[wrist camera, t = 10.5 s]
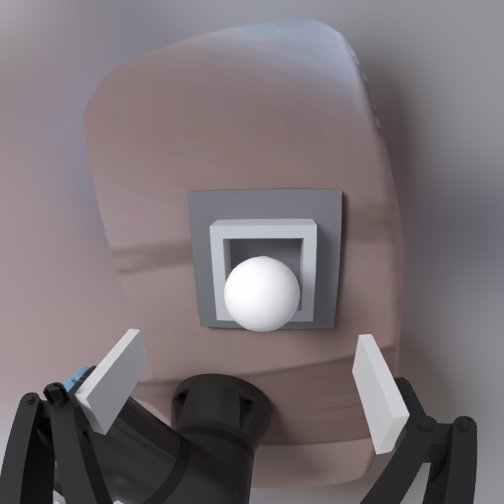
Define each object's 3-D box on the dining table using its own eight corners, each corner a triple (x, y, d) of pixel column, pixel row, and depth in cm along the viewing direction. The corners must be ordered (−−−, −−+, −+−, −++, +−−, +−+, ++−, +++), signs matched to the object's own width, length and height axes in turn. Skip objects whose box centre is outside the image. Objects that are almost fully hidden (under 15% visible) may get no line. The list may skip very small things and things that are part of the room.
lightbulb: (297, 241, 30) (311, 277, 19) (286, 295, 31) (293, 351, 21) (239, 232, 30) (222, 264, 19) (232, 286, 32) (214, 339, 21)
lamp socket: (332, 323, 33) (338, 344, 29) (203, 321, 35) (192, 342, 30) (339, 189, 29) (349, 192, 24) (191, 191, 31) (176, 195, 26)
